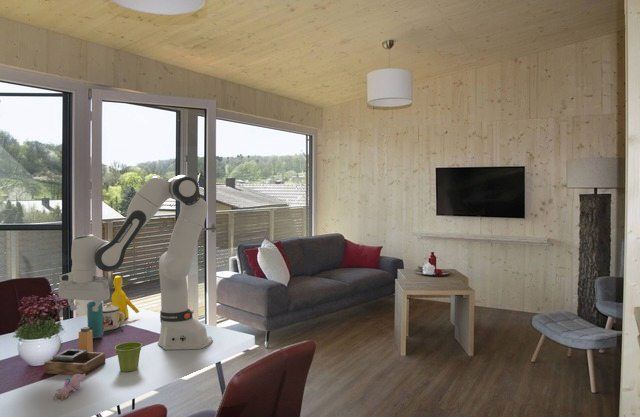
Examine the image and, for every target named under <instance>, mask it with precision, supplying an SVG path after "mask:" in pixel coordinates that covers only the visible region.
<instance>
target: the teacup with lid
mask: <svg viewBox="0 0 640 417" xmlns="http://www.w3.org/2000/svg"><path fill="white" fill-rule="evenodd" d="M111 303H112V302H107V303H106V305H104V306H102V307H103V324H104V325H103V327H104V329H103V331H110V330H111V331H112V330H115V329H117V328H119V327H120V323H123V321H124V320H125V319H124V318H125V315H124V314H123V313H122V312H119V307H117V306H114V305H111ZM119 314H121V315H122V316H123V318H122V320H120V319H119Z"/></svg>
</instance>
